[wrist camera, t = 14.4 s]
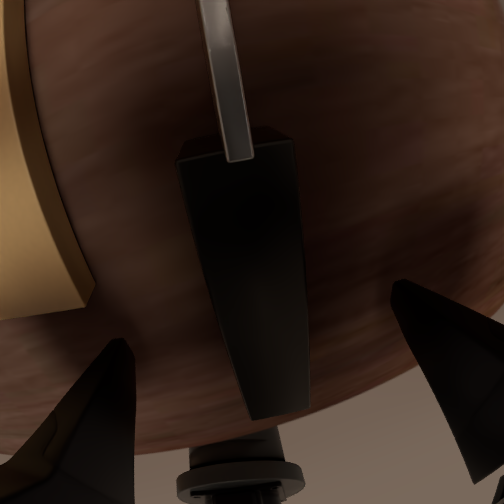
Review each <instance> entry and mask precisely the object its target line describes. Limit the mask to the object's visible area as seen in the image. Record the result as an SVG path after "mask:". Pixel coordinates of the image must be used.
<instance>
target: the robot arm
mask: <svg viewBox="0 0 504 504" xmlns="http://www.w3.org/2000/svg"><path fill="white" fill-rule="evenodd" d="M390 304H391V307H392V310H393V312H394V314H395V316H396V319H397V321H398V323H399V326H400V328H401V330H402V333H403V335H404V337H405V339H406V342H407V344H408V345H409V347H410V349H411V351H412V353H413V355H414V356H415V358H416V360H417V362H418V364H419V366H420V367H421V369H422V371H423V373H424V375H425V377H426V379H427V381H428V383H429V385H430V387H431V389H432V391H433V393H434V395H435V397H436V399H437V401H438V403H439V405H440V407H441V409H442V411H443V413H444V416H445V418H446V420H447V422H448V424H449V426H450V429H451V431H452V433H453V435H454V437H455V440H456V442H457V444H458V447H459V449H460V452H461V454H462V456H463V458H464V461H465V464H466V466H467V469H468V471H469V474H470V476H471V479H472V482H473V483H474V484H476V483H478V482H479V481H481V480H482V479H484V478H485V477H487V476H488V475H490V474H491V473H493V472H494V471H495V470H497V469H498V468H500V467H501V466H502V465H504V325H503V324H501V323H499V322H497V321H495V320H493V319H491V318H489V317H486V316H484V315H482V314H480V313H478V312H476V311H474V310H472V309H470V308H468V307H466V306H463V305H461V304H459V303H457V302H455V301H453V300H451V299H448V298H446V297H444V296H442V295H440V294H438V293H435V292H433V291H431V290H429V289H427V288H424V287H422V286H420V285H418V284H416V283H413V282H411V281H409V280H407V279H401V280H397V281H395V282H394V283H393V286H392V292H391V298H390ZM135 417H136V372H135V356H134V354H133V352H132V350H131V349H130V347H129V345H128V344H127V342H126V340H125V339H124V338H115V339H112V340H111V341H110V342H109V343H108V344H107V345H106V347H105V348H104V349H103V350H102V351H101V352H100V354H99V355H98V356H97V357H96V358H95V359H94V361H93V362H92V363H91V364H90V365H89V367H88V368H87V369H86V370H85V371H84V373H83V374H82V375H81V376H80V377H79V379H78V380H77V381H76V382H75V383H74V385H73V386H72V387H71V388H70V390H69V391H68V392H67V393H66V395H65V396H64V397H63V398H62V399H61V401H60V402H59V403H58V404H57V406H56V407H55V408H54V410H53V411H52V412H51V413H50V414H49V416H48V417H47V418H46V419H45V421H44V422H43V423H42V424H41V426H40V427H39V428H38V429H37V430H36V431H35V433H34V434H33V435H32V436H31V437H30V438H29V439H28V440H27V441H26V442H25V444H24V445H23V446H22V447H21V448H20V449H19V450H18V451H17V452H16V453H15V454H14V456H13V457H12V458H11V459H10V460H8V461H7V462H6V463H4V464H2V465H0V504H135V499H134V441H135ZM190 498H192V499H194V500H195V501H197V502H198V503H200V504H281V502H283V501H286V495H285V492H284V489H283V486H282V483H281V482H280V481H276V482H270V483H264V484H258V485H251V486H244V487H236V488H228V489H217V490H204V491H191V492H190ZM492 504H504V475H503V476H501V477H500V480H499V483H498V486H497V490H496V493H495V496H494V499H493V502H492Z"/></svg>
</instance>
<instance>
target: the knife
mask: <svg viewBox="0 0 504 504" xmlns="http://www.w3.org/2000/svg"><path fill="white" fill-rule="evenodd" d="M195 3H196V9H197V14H198V20H199V26H200V32H201V38H202V43H203V49H204V55H205V60H206V66H207V72H208V77H209V83H210V88H211V94H212V99H213V105H214V110H215V116H216V121H217V127H218V132H219V134H217V135H212V136H207V137H202V138H197V139H193V140H188V141H186V142H184V144H183V146H182V148H181V150H180V152H179V154H178V156H177V158H176V160H175V167H176V171H177V175H178V180H179V184H180V188H181V192H182V196H183V200H184V204H185V208H186V212H187V216H188V219H189V223H190V227H191V231H192V235H193V238H194V242H195V246H196V249H197V253H198V257H199V260H200V264H201V267H202V271H203V274H204V278H205V281H206V285H207V288H208V292H209V295H210V298H211V302H212V305H213V308H214V312H215V315H216V318H217V321H218V325H219V328H220V331H221V334H222V337H223V340H224V344H225V347H226V350H227V353H228V356H229V359H230V362H231V365H232V368H233V371H234V374H235V377H236V380H237V383H238V386H239V389H240V392H241V395H242V398H243V400H244V403H245V406H246V409H247V412H248V414H249V417H250V419H251V420H252V421H254V420H259V419H264V418H269V417H274V416H279V415H284V414H288V413H292V412H297V411H301V410H305V409H309V408H310V350H309V321H308V300H307V281H306V265H305V251H304V237H303V225H302V213H301V202H300V191H299V181H298V171H297V162H296V153H295V145H294V141H293V139H292V138H290V137H288V136H286V135H284V134H283V133H281V132H279V131H277V130H275V129H273V128H271V127H269V126H263V127H256V128H250V123H249V116H248V110H247V104H246V98H245V92H244V86H243V80H242V74H241V68H240V62H239V56H238V51H237V45H236V39H235V33H234V28H233V22H232V17H231V11H230V6H229V0H195Z"/></svg>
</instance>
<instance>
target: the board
mask: <svg viewBox="0 0 504 504" xmlns="http://www.w3.org/2000/svg"><path fill="white" fill-rule="evenodd" d="M95 285H96V284H95V281H94V279H93V277H92V275H91V273H90V271H89V268H88V266H87V264H86V262H85V259H84V257H83V255H82V253H81V250H80V248H79V245H78V243H77V241H76V238H75V236H74V233H73V231H72V228H71V226H70V223H69V220H68V218H67V215H66V212H65V210H64V207H63V204H62V201H61V198H60V195H59V192H58V189H57V186H56V183H55V180H54V177H53V174H52V170H51V167H50V164H49V160H48V157H47V153H46V149H45V146H44V142H43V138H42V134H41V130H40V126H39V121H38V117H37V112H36V107H35V102H34V97H33V91H32V85H31V79H30V73H29V65H28V57H27V48H26V37H25V21H24V0H0V320H7V319H13V318H20V317H27V316H33V315H40V314H46V313H52V312H59V311H65V310H71V309H77V308H83V307H86V305H87V303H88V300H89V298H90V296H91V294H92V292H93V289H94V287H95Z"/></svg>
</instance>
